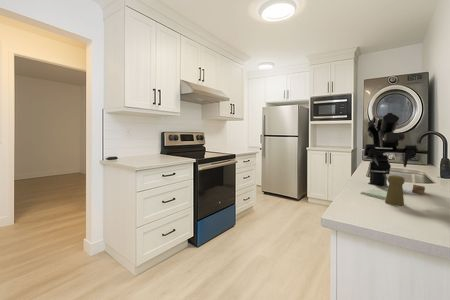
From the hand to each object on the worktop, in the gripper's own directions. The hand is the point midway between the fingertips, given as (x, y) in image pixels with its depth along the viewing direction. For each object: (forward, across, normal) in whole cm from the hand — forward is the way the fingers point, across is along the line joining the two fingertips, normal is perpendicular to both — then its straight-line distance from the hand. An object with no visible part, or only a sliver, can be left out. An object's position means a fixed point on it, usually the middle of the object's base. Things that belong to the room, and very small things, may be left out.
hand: (391, 165), depth 95 cm
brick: (-1, +14, +20) cm, 24 cm away
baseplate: (+7, -3, +12) cm, 14 cm away
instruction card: (-3, +8, +22) cm, 24 cm away
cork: (+16, 0, +4) cm, 16 cm away
